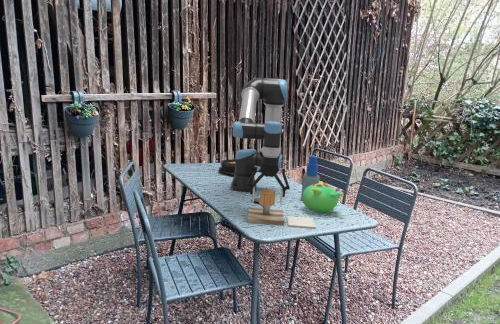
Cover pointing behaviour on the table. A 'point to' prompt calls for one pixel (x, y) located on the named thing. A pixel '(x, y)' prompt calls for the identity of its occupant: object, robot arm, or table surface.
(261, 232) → the table surface
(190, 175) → the table surface
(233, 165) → the casserole
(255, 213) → the post base
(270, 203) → the cap
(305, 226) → the pad
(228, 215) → the table surface
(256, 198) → the weathered bronze handle
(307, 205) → the toy bird
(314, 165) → the spray bottle
